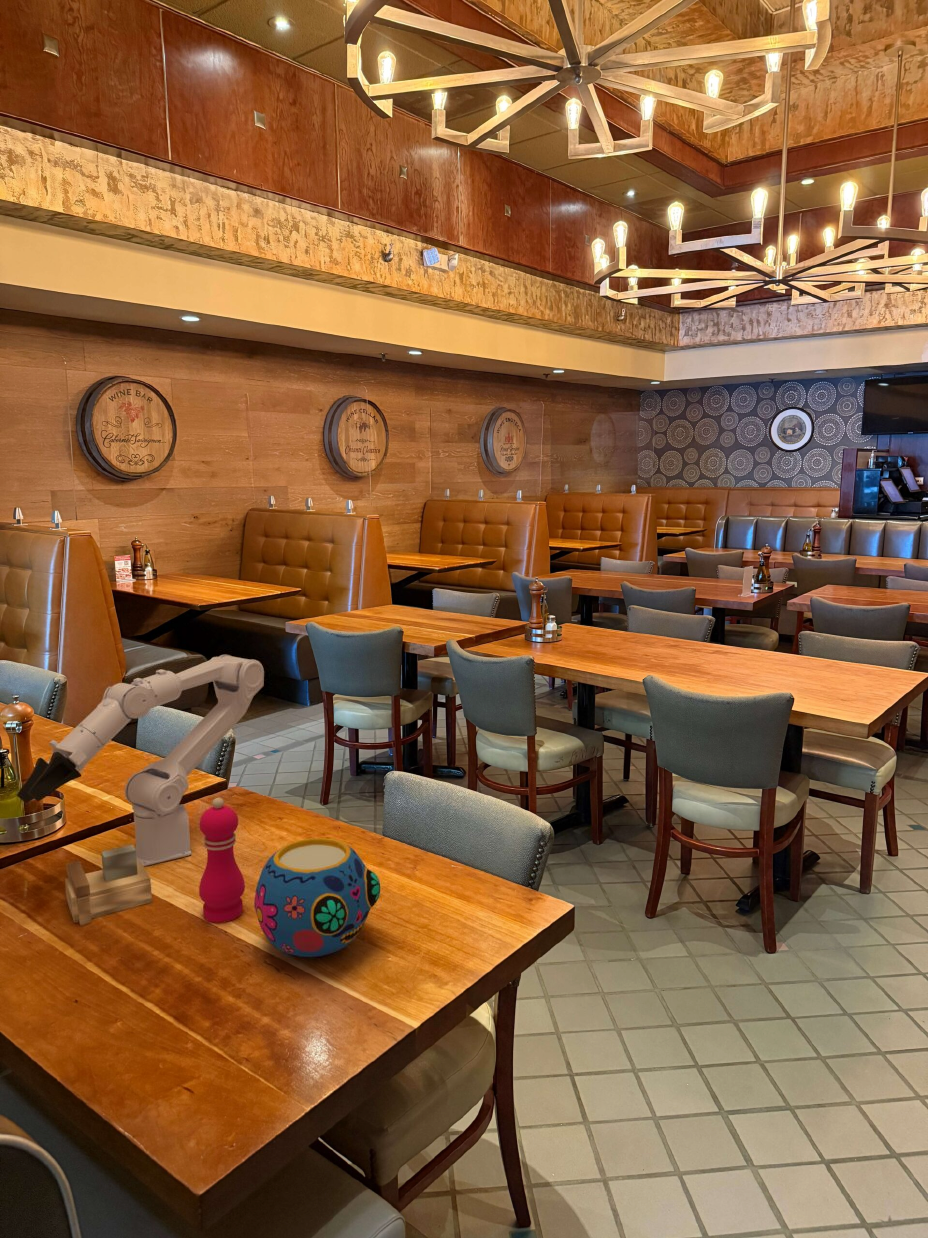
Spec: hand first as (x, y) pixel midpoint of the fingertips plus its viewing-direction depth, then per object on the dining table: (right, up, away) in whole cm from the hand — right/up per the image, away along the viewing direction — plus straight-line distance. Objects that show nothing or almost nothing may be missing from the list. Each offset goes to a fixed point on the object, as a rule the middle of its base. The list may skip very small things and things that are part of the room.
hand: (27, 798), depth 132 cm
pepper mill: (+32, -19, +1) cm, 37 cm away
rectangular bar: (+8, -14, +1) cm, 16 cm away
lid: (+11, -15, +4) cm, 19 cm away
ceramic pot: (+49, -21, -8) cm, 54 cm away
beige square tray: (+11, -19, +4) cm, 22 cm away
